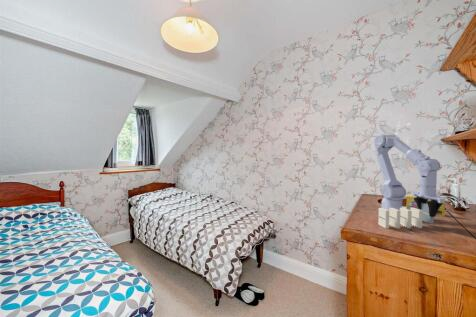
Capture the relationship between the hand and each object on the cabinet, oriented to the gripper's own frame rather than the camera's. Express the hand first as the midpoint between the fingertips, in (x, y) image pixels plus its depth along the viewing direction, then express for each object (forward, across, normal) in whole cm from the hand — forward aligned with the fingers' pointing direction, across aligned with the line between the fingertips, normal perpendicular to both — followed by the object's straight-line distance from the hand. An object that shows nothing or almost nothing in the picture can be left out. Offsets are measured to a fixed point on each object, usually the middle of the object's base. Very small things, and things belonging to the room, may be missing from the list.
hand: (427, 214), depth 100 cm
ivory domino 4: (+5, 0, -5) cm, 7 cm away
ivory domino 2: (+5, 0, -15) cm, 16 cm away
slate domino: (+3, 0, 0) cm, 3 cm away
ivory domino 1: (+5, 0, -20) cm, 21 cm away
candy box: (+6, -20, +16) cm, 26 cm away
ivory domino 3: (+5, 0, -10) cm, 11 cm away
